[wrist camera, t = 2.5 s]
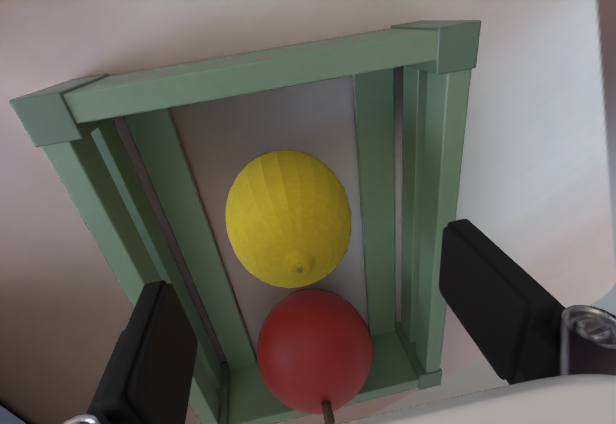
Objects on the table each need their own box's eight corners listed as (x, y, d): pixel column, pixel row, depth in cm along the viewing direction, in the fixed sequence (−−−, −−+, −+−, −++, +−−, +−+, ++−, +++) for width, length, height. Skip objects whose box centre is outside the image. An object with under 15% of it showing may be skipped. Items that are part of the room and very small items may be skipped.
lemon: (311, 114, 17) (355, 176, 10) (339, 202, 20) (388, 296, 13) (211, 152, 17) (188, 238, 10) (253, 234, 20) (257, 344, 13)
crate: (71, 79, 15) (7, 100, 11) (422, 20, 16) (481, 20, 12) (213, 379, 26) (208, 442, 22) (412, 332, 27) (440, 384, 23)
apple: (245, 279, 22) (244, 404, 15) (349, 256, 22) (398, 366, 15) (266, 348, 25) (275, 475, 18) (356, 327, 26) (398, 443, 19)
